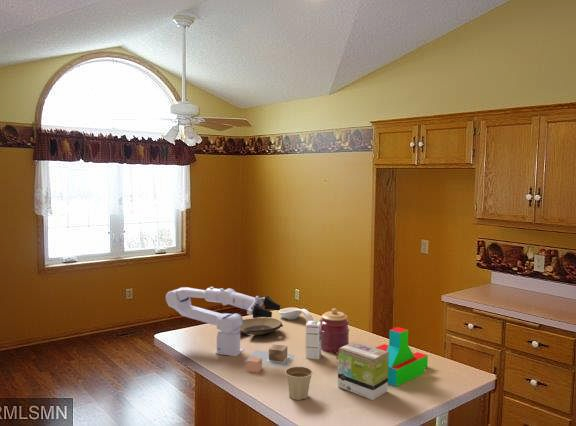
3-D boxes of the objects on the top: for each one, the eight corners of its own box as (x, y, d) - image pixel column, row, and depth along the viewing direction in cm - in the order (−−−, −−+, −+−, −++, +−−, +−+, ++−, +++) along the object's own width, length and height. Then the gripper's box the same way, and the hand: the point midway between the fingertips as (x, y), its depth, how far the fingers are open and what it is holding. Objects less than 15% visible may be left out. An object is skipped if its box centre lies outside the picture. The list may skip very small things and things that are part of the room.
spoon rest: (274, 317, 263) (274, 303, 262) (292, 313, 270) (292, 300, 269) (301, 328, 244) (302, 314, 243) (320, 324, 251) (320, 310, 250)
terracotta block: (246, 372, 189) (246, 360, 189) (251, 367, 193) (251, 356, 193) (258, 373, 188) (258, 362, 188) (262, 369, 192) (262, 358, 192)
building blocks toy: (432, 369, 195) (434, 323, 194) (396, 387, 178) (397, 337, 176) (392, 356, 208) (393, 313, 207) (354, 372, 191) (355, 325, 190)
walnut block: (268, 360, 201) (268, 349, 200) (273, 354, 206) (273, 344, 206) (282, 361, 199) (283, 350, 199) (287, 356, 205) (287, 345, 204)
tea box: (336, 388, 176) (337, 347, 175) (352, 379, 184) (353, 340, 182) (373, 401, 166) (374, 358, 165) (388, 391, 174) (389, 350, 172)
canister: (334, 355, 207) (335, 314, 206) (312, 347, 217) (313, 307, 215) (355, 348, 216) (356, 309, 214) (333, 341, 225) (334, 302, 224)
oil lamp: (258, 345, 219) (258, 328, 219) (215, 330, 240) (215, 314, 239) (292, 333, 236) (292, 317, 235) (249, 320, 256) (249, 305, 255)
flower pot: (283, 390, 173) (284, 366, 173) (310, 389, 174) (310, 365, 173) (285, 402, 164) (286, 377, 163) (314, 402, 165) (314, 376, 164)
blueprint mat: (243, 362, 198) (243, 361, 198) (255, 350, 212) (255, 350, 212) (286, 368, 193) (286, 367, 193) (296, 355, 207) (296, 354, 207)
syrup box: (319, 360, 202) (319, 325, 201) (305, 358, 203) (305, 324, 202) (321, 355, 208) (321, 321, 207) (307, 353, 209) (307, 320, 208)
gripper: (238, 299, 198) (268, 308, 193) (255, 287, 211) (284, 296, 206) (236, 315, 199) (266, 325, 194) (253, 302, 212) (282, 311, 207)
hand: (275, 311), depth 200 cm, fingers open, 7 cm apart
